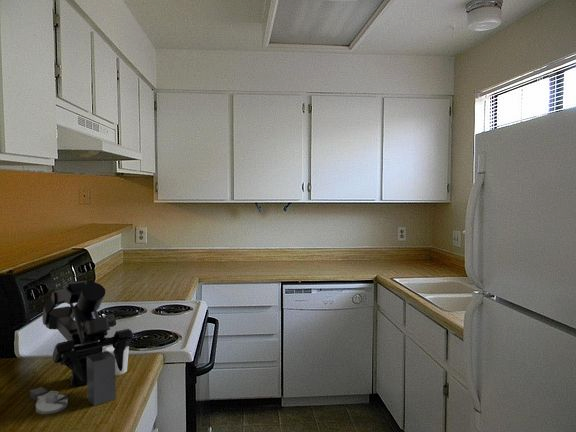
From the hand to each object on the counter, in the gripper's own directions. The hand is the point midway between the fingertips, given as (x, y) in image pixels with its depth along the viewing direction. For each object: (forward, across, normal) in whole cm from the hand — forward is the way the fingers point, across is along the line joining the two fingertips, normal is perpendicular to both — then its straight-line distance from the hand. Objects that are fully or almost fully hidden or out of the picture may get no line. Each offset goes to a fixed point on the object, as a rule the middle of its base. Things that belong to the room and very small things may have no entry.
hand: (102, 375), depth 109 cm
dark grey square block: (+4, 0, +6) cm, 7 cm away
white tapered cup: (-6, +9, +16) cm, 20 cm away
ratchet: (-1, -11, +10) cm, 15 cm away
